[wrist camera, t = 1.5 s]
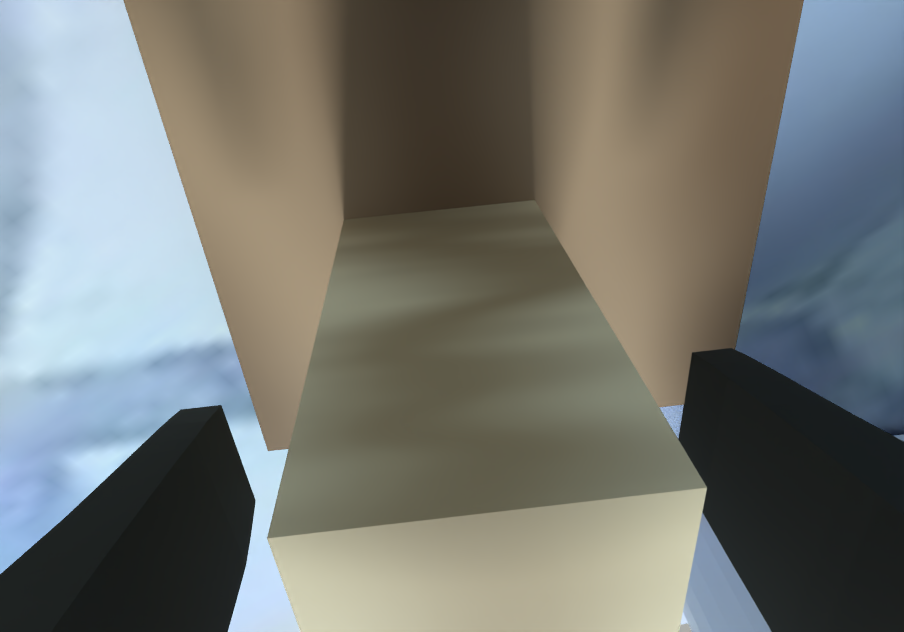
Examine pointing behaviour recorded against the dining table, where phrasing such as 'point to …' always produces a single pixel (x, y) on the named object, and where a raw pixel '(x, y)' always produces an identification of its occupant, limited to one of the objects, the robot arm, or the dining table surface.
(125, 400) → the dining table surface
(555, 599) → the beige wooden block
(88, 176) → the dining table surface
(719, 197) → the plank
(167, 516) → the robot arm
